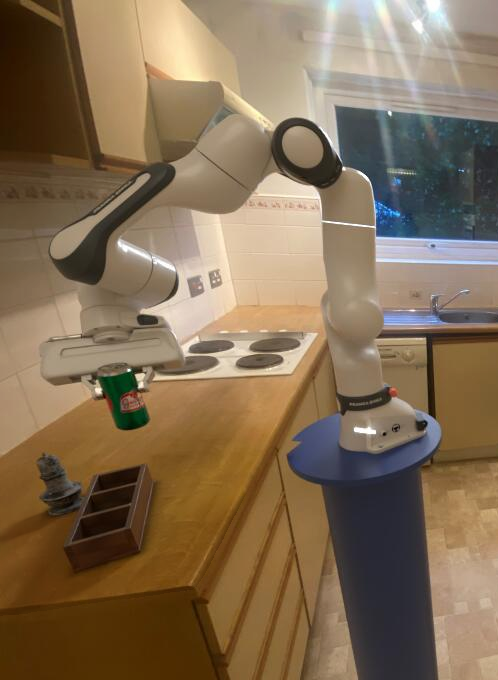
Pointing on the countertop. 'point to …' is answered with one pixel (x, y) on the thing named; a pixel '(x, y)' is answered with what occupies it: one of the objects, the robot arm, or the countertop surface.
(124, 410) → the soda can
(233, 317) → the countertop surface
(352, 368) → the robot arm
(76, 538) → the wooden compartment tray
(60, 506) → the grey stacked stone piece
